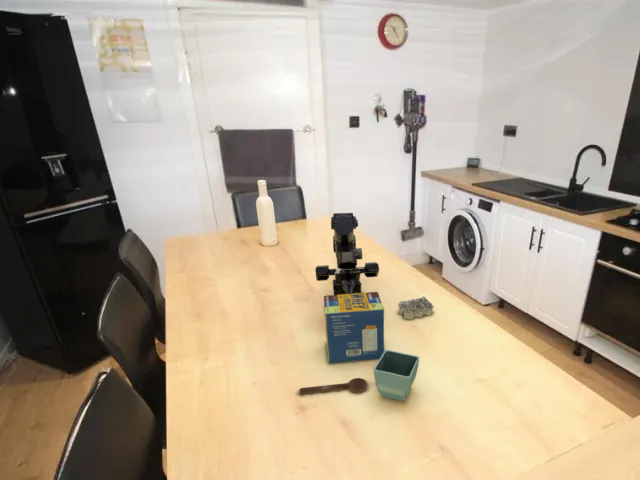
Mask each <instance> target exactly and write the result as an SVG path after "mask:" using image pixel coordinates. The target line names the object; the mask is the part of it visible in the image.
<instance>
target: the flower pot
mask: <svg viewBox="0 0 640 480" xmlns="http://www.w3.org/2000/svg"><path fill="white" fill-rule="evenodd" d="M419 363H420V356H418V355H415V354H409V353H404V352H400V351H399V352H398V351H395V350H390V349H384V353H383V354H382V356H381V358H379V359H378V360H377V362H376V364H375V366H374V367H373V376H374V377H373V378H374V383H375V387H376V389H377V391H378V393H379V394H380V395H381V396H382V397H383V398H387V399H390V400H394V401H399V402H404V401H405V400H406V399H407V397H408V395H409V393H410V391H411V388H412V387H413V384H414V382H415V379H416V376H417V373H418V368H419Z"/></svg>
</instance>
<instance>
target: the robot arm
mask: <svg viewBox="0 0 640 480" xmlns="http://www.w3.org/2000/svg"><path fill="white" fill-rule="evenodd" d="M332 215H333V216H330V230H333V234H334V235H332V248H333V253H335V258H336V268H330V266H329V264H326V265H316V267H315V279H316V281H317V282H322V281H328V280H329V279H330V277H331V276H334V279H332V289H333V295H342V294H356V293H362V282H361V280H360V279H361V274H364V276H365V277H366V278H367V279H368V278H377V277H378V276H379V273H380V265H379V263H378V262H376V261H374V262H365V263H364V266H358V260H362V259H363V249H362V247H359V248H358V247H357V237H356V235H355V233H354V232H355V230H356V229H357V228H358V227H359V221H358V219H357V217H356V215H354V212H333V213H332ZM357 266H358V267H357Z"/></svg>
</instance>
